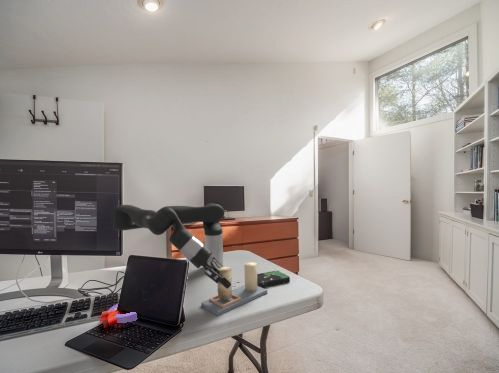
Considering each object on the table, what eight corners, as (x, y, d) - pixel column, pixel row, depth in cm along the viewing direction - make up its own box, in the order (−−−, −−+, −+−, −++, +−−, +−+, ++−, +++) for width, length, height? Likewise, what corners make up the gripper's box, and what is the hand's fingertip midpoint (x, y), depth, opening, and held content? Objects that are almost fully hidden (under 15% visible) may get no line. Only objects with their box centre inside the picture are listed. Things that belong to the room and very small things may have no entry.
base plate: (201, 305, 92) (200, 274, 92) (250, 285, 108) (249, 259, 108) (217, 315, 85) (216, 282, 84) (267, 292, 101) (266, 264, 101)
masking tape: (106, 333, 77) (105, 320, 77) (108, 315, 87) (108, 304, 87) (147, 323, 82) (147, 311, 82) (145, 307, 92) (145, 296, 92)
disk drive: (260, 290, 105) (290, 282, 112) (260, 283, 105) (290, 276, 111) (249, 281, 115) (278, 275, 121) (249, 275, 115) (277, 269, 121)
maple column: (215, 296, 93) (214, 269, 93) (226, 292, 97) (225, 265, 96) (223, 300, 89) (222, 272, 89) (234, 296, 93) (233, 269, 93)
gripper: (192, 253, 100) (224, 283, 100) (184, 265, 85) (221, 300, 86) (205, 239, 100) (237, 269, 100) (199, 249, 85) (236, 283, 86)
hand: (229, 283), depth 93 cm, fingers closed on maple column, 5 cm apart
